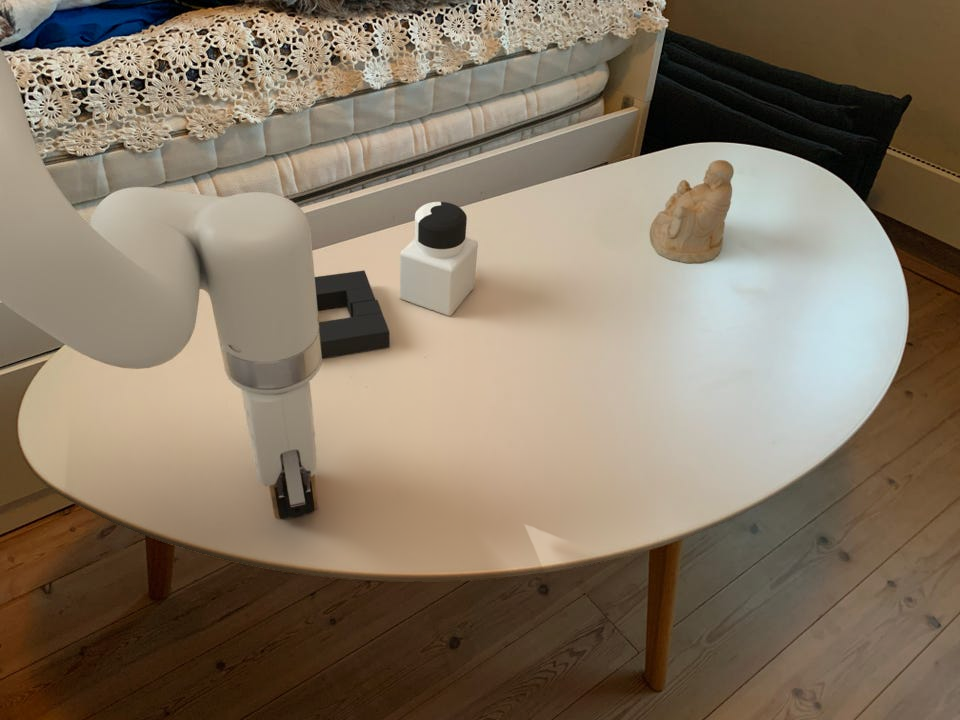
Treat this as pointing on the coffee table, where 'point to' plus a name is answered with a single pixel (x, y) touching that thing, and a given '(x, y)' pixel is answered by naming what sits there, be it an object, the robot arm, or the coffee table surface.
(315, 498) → the key
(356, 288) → the pad back
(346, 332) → the pad front
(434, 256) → the medicine bottle
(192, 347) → the coffee table surface
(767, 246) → the coffee table surface
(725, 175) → the statue
